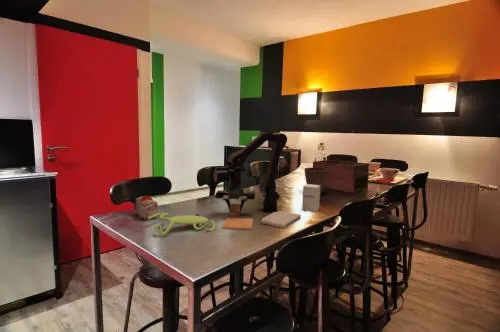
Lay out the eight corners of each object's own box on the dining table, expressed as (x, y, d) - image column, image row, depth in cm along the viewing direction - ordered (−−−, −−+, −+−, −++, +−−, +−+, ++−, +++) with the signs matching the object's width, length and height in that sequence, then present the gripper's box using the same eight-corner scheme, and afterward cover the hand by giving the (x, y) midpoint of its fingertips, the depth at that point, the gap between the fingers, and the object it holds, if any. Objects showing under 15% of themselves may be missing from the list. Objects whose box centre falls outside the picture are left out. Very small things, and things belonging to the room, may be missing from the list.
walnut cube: (240, 212, 145) (240, 203, 144) (239, 215, 140) (239, 206, 140) (231, 212, 145) (231, 203, 144) (230, 215, 140) (230, 206, 140)
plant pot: (299, 191, 194) (300, 167, 192) (319, 190, 198) (320, 167, 196) (310, 196, 180) (311, 171, 178) (331, 195, 184) (333, 170, 182)
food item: (160, 218, 135) (160, 197, 133) (143, 221, 130) (142, 200, 128) (149, 211, 145) (148, 192, 144) (133, 214, 140) (132, 194, 139)
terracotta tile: (253, 220, 133) (253, 218, 133) (251, 229, 121) (251, 228, 121) (226, 219, 134) (226, 218, 134) (222, 228, 122) (222, 227, 122)
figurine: (148, 224, 128) (147, 211, 127) (208, 218, 137) (208, 206, 136) (148, 239, 111) (147, 225, 110) (217, 232, 119) (217, 218, 119)
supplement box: (301, 209, 152) (302, 185, 150) (305, 206, 158) (306, 183, 156) (315, 212, 148) (316, 187, 146) (319, 208, 155) (320, 184, 153)
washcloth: (302, 219, 138) (302, 213, 137) (285, 230, 123) (285, 223, 122) (279, 214, 144) (279, 208, 144) (260, 224, 129) (260, 218, 129)
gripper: (213, 183, 133) (213, 216, 135) (254, 184, 132) (253, 217, 134) (217, 178, 144) (217, 209, 146) (255, 179, 143) (255, 210, 145)
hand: (235, 212), depth 142 cm, fingers closed on walnut cube, 5 cm apart
